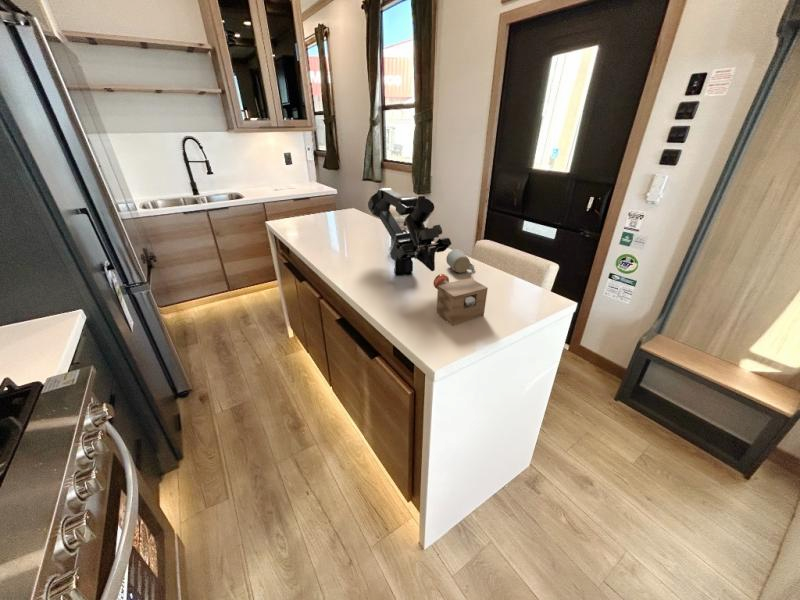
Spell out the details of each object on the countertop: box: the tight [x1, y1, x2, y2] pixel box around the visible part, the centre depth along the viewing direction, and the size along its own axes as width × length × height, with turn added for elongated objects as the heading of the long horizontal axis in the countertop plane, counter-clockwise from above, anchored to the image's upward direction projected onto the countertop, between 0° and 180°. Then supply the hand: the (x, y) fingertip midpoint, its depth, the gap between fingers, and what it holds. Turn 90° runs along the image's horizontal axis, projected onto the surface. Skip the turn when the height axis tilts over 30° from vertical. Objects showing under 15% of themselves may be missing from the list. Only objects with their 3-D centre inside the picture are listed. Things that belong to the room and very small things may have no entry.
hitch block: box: [435, 277, 489, 326], centre depth 96 cm, size 8×12×10 cm, turn 118°
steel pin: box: [433, 273, 475, 307], centre depth 98 cm, size 16×5×5 cm, turn 28°
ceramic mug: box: [446, 248, 475, 274], centre depth 128 cm, size 11×8×8 cm
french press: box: [388, 215, 408, 251], centre depth 148 cm, size 10×12×25 cm
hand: (433, 270), depth 106 cm, fingers closed
